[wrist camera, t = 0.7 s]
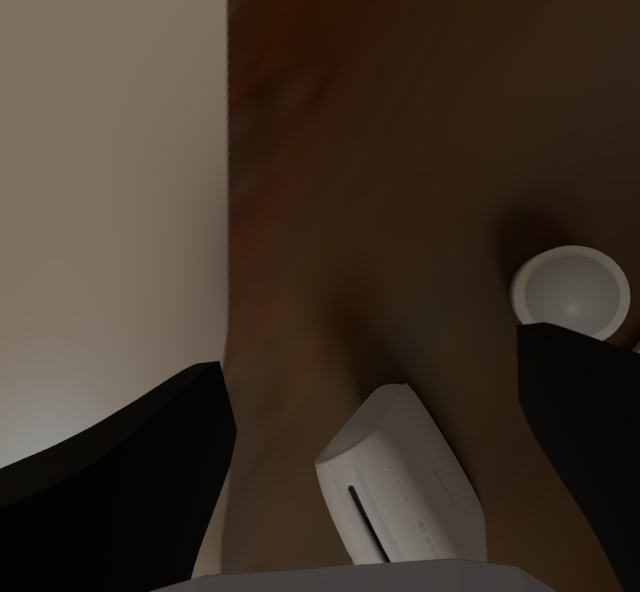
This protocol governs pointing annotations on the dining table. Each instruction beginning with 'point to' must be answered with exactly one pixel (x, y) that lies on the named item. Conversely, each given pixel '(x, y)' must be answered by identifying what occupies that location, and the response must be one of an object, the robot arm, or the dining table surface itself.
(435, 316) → the dining table surface
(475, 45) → the dining table surface
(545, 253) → the white round cylinder
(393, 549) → the photo printer
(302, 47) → the dining table surface
